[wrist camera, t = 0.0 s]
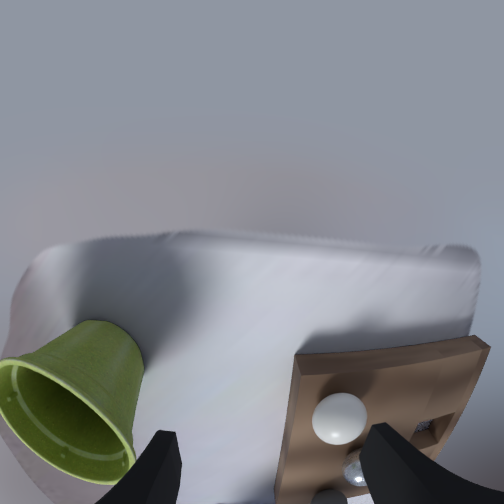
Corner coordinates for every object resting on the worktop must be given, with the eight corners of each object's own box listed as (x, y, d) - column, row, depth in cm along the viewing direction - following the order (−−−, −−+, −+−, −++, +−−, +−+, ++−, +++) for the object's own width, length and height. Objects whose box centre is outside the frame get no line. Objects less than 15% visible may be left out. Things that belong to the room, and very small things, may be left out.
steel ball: (370, 460, 20) (382, 488, 16) (333, 466, 19) (342, 497, 16) (381, 435, 19) (397, 464, 15) (342, 442, 19) (354, 474, 15)
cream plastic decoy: (351, 416, 18) (366, 450, 15) (304, 421, 18) (313, 458, 14) (362, 379, 17) (381, 413, 14) (311, 384, 17) (324, 421, 14)
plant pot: (130, 419, 20) (100, 497, 12) (41, 349, 19) (-16, 409, 10) (192, 356, 19) (169, 453, 11) (84, 268, 18) (2, 321, 9)
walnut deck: (415, 463, 24) (422, 477, 22) (273, 489, 23) (275, 507, 21) (474, 334, 20) (490, 347, 18) (294, 354, 19) (301, 375, 17)
